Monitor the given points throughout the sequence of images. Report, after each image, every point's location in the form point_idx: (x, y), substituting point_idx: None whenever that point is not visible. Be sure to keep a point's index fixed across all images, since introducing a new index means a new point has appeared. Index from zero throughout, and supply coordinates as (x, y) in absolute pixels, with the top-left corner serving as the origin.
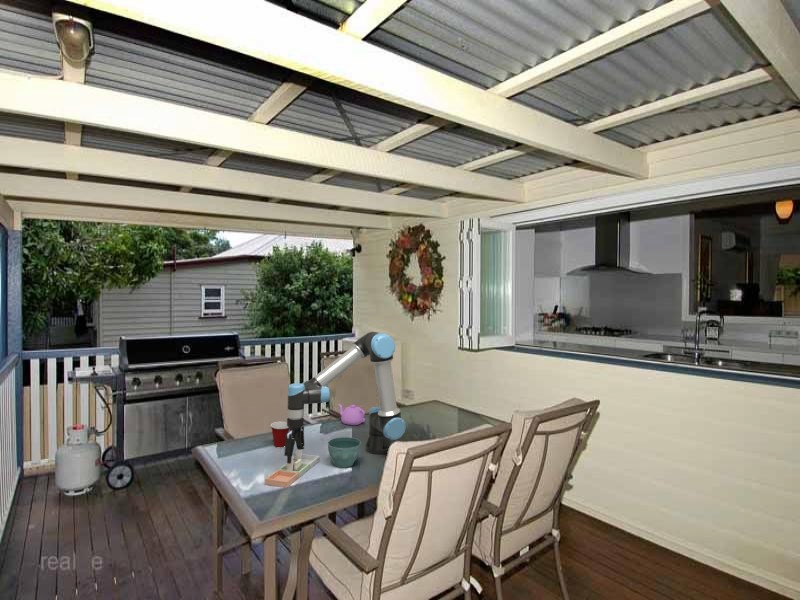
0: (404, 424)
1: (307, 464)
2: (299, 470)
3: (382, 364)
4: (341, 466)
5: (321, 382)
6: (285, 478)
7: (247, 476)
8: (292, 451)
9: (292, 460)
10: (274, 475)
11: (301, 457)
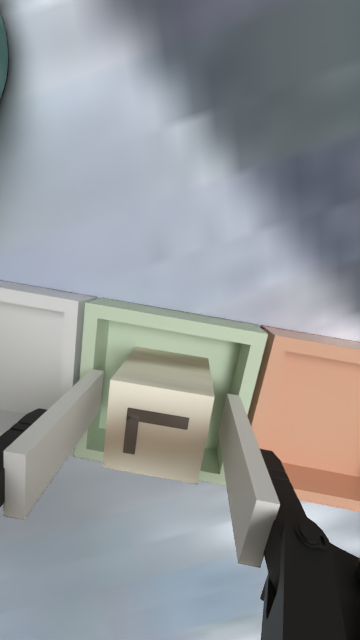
0: None
1: (96, 318)
2: (164, 353)
3: None
4: (1, 33)
5: None
6: (288, 402)
7: (262, 584)
8: (306, 600)
9: (261, 454)
10: (295, 477)
11: (68, 393)
